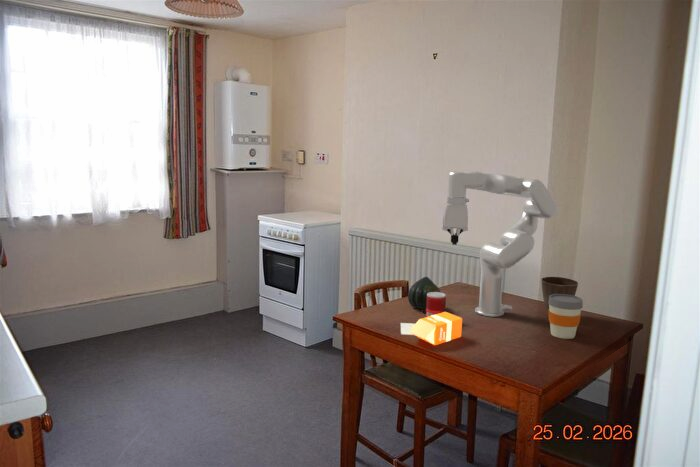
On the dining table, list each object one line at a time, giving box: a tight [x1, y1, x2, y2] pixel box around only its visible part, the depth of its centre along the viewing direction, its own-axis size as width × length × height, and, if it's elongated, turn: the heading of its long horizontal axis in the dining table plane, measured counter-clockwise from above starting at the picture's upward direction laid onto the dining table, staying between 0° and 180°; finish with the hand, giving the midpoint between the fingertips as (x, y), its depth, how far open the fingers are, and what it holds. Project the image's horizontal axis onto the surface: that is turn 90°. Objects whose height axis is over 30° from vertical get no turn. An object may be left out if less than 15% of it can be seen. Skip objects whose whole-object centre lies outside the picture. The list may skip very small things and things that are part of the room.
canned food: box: [425, 291, 447, 317], centre depth 220 cm, size 8×8×11 cm
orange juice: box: [409, 311, 463, 346], centre depth 196 cm, size 8×9×20 cm
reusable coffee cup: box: [548, 294, 584, 340], centre depth 203 cm, size 13×13×15 cm
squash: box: [407, 276, 442, 312], centre depth 235 cm, size 14×15×15 cm
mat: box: [400, 322, 416, 336], centre depth 207 cm, size 17×13×1 cm
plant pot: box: [541, 276, 579, 317], centre depth 226 cm, size 15×15×16 cm
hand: (454, 244), depth 219 cm, fingers closed
